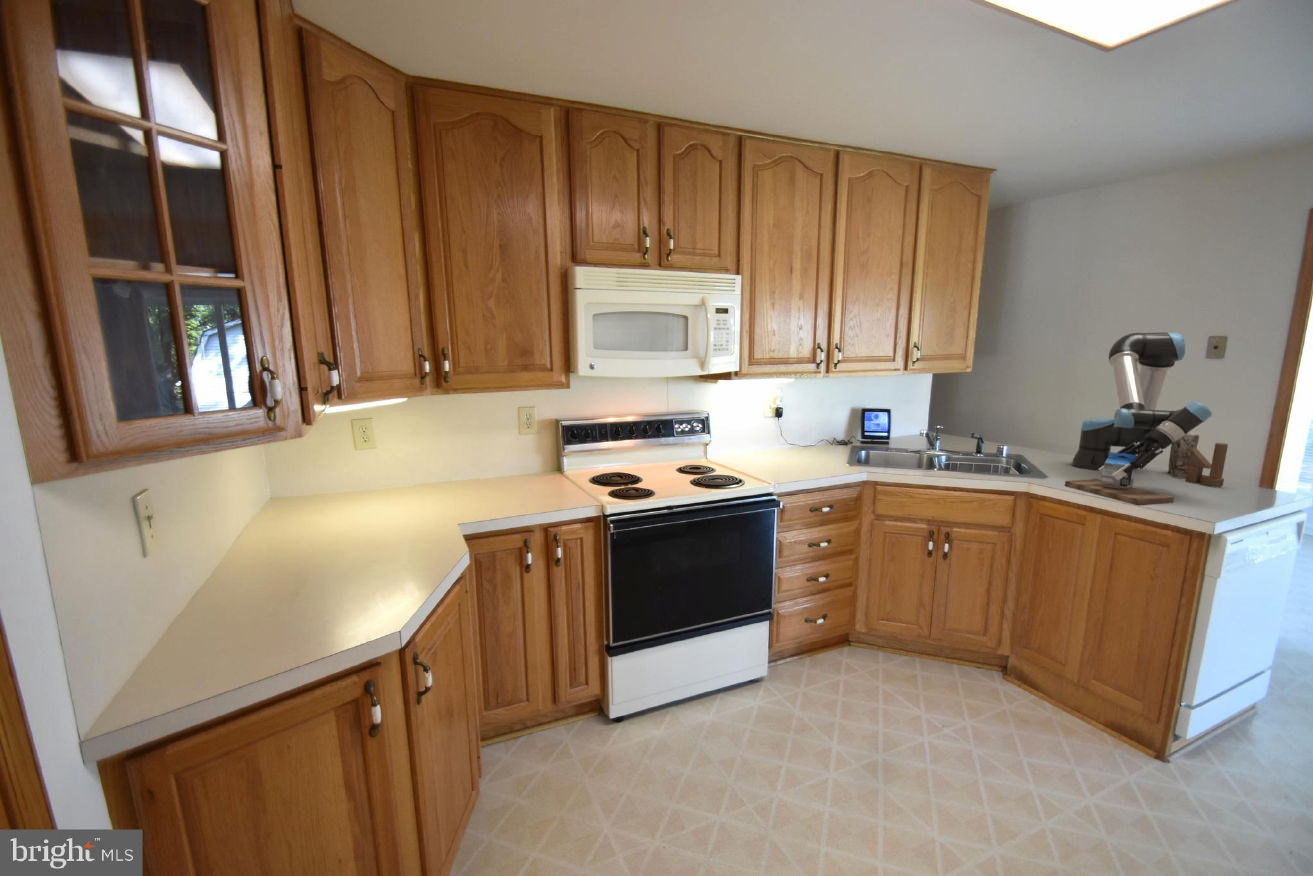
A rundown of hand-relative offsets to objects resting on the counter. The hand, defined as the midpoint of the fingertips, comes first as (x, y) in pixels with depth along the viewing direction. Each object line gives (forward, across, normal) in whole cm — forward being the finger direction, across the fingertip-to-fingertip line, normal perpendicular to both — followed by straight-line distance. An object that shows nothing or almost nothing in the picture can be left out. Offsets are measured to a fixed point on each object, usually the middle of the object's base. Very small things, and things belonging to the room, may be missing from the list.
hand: (1108, 474), depth 206 cm
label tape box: (+1, 0, +5) cm, 5 cm away
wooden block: (-28, -25, +39) cm, 55 cm away
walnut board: (+3, 0, +8) cm, 8 cm away
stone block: (-29, -41, +40) cm, 64 cm away
